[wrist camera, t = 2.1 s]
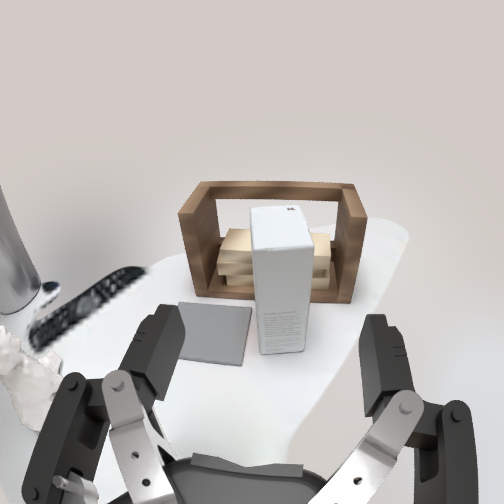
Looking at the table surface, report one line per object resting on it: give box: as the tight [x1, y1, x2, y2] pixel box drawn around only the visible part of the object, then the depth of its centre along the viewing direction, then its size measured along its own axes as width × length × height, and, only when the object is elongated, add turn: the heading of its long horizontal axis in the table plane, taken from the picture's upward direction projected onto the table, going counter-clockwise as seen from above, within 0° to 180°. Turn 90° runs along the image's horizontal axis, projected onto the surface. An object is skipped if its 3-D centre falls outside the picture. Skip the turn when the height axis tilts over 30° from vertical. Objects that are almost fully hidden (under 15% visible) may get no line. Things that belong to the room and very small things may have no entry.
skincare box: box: [250, 205, 315, 355], centre depth 24 cm, size 6×4×12 cm
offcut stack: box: [217, 229, 331, 290], centre depth 32 cm, size 12×5×5 cm, turn 82°
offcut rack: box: [178, 181, 368, 303], centre depth 31 cm, size 17×8×10 cm, turn 82°
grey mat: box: [178, 302, 252, 366], centre depth 28 cm, size 8×7×1 cm
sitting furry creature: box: [0, 326, 63, 432], centre depth 17 cm, size 10×9×12 cm
